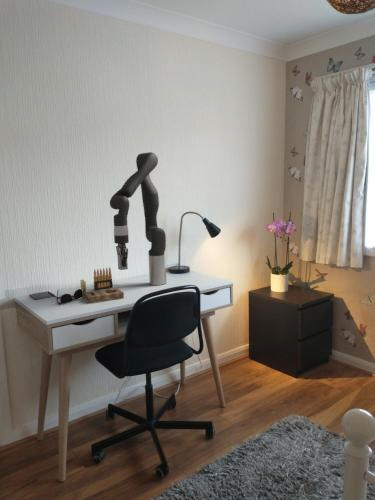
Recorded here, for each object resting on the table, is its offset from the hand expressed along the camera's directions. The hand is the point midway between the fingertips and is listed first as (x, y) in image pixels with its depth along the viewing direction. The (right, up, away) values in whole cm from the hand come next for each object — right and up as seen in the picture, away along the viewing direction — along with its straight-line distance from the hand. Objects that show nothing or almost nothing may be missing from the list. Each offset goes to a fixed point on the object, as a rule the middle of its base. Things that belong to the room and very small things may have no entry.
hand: (122, 265), depth 217 cm
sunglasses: (-30, -18, -7) cm, 35 cm away
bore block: (-9, -17, -6) cm, 20 cm away
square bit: (0, -2, 0) cm, 2 cm away
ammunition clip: (-13, -14, +13) cm, 23 cm away
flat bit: (-21, -16, 0) cm, 26 cm away
